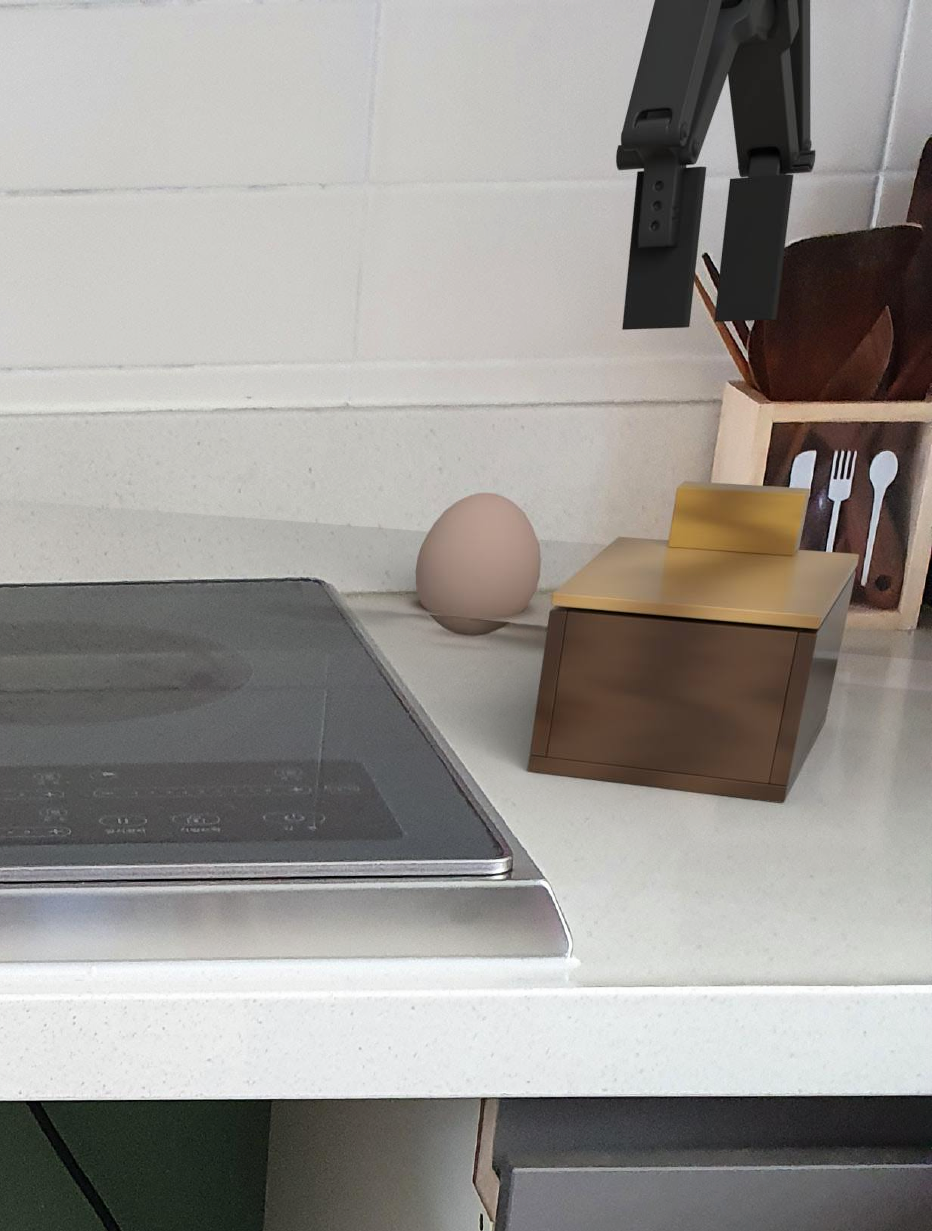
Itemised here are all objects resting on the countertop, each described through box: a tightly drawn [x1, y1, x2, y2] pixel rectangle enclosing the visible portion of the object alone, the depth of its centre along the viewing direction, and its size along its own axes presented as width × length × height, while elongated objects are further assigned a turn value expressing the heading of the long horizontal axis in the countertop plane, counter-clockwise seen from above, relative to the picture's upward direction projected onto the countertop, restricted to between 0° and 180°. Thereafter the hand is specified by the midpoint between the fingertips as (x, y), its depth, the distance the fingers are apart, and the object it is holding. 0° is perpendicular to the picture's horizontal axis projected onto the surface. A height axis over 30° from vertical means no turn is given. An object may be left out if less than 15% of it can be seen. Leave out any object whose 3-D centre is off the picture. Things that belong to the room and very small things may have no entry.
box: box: [526, 569, 857, 803], centre depth 104 cm, size 12×16×8 cm
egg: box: [415, 492, 542, 637], centre depth 126 cm, size 7×7×8 cm
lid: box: [550, 480, 860, 629], centre depth 101 cm, size 12×16×4 cm
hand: (702, 325), depth 99 cm, fingers open, 13 cm apart
